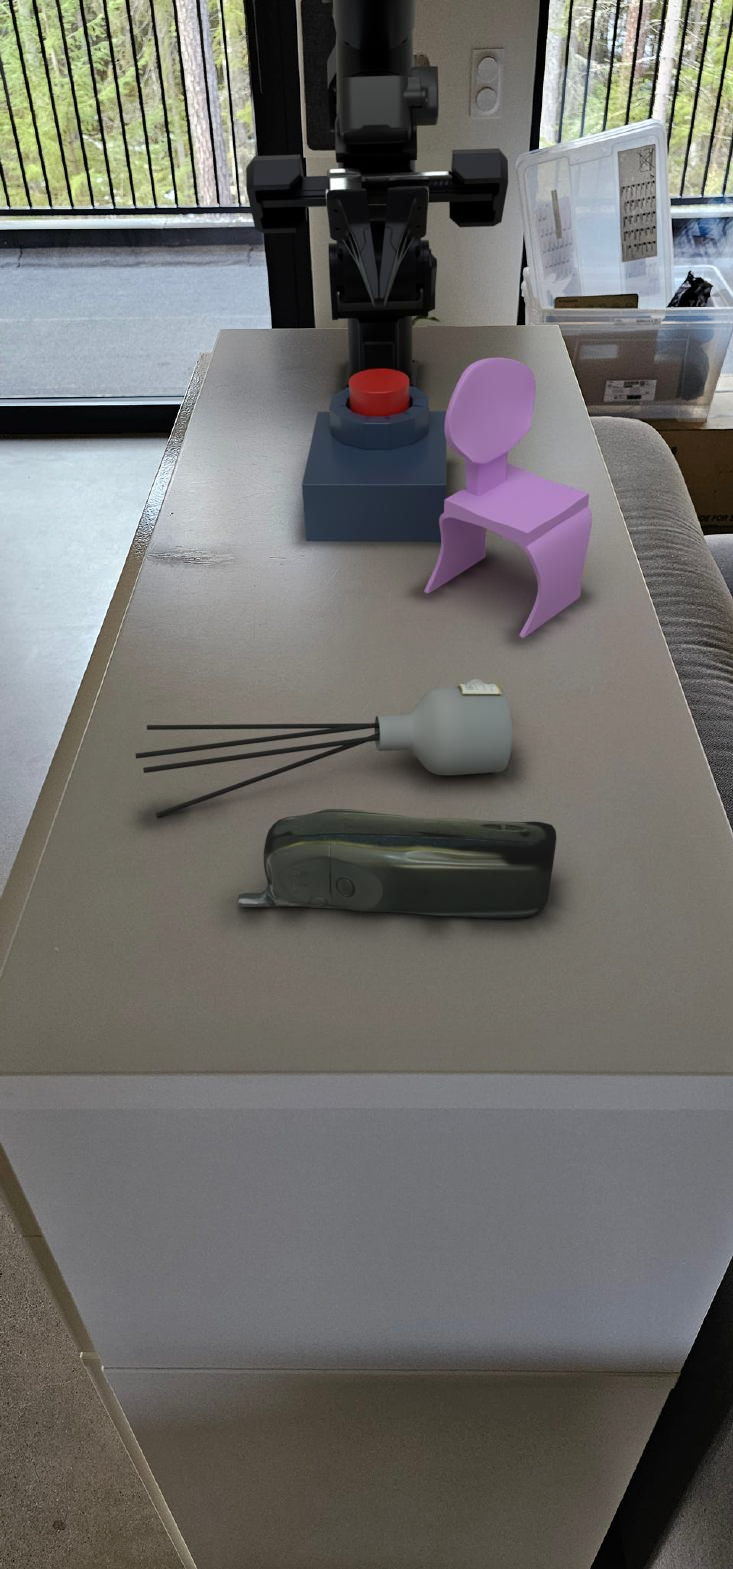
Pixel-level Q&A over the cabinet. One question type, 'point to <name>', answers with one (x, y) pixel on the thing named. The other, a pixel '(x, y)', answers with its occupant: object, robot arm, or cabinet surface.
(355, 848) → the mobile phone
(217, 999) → the cabinet surface
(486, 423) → the toy chair
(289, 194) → the robot arm
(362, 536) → the switch box
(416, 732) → the reed diffuser
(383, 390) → the button
